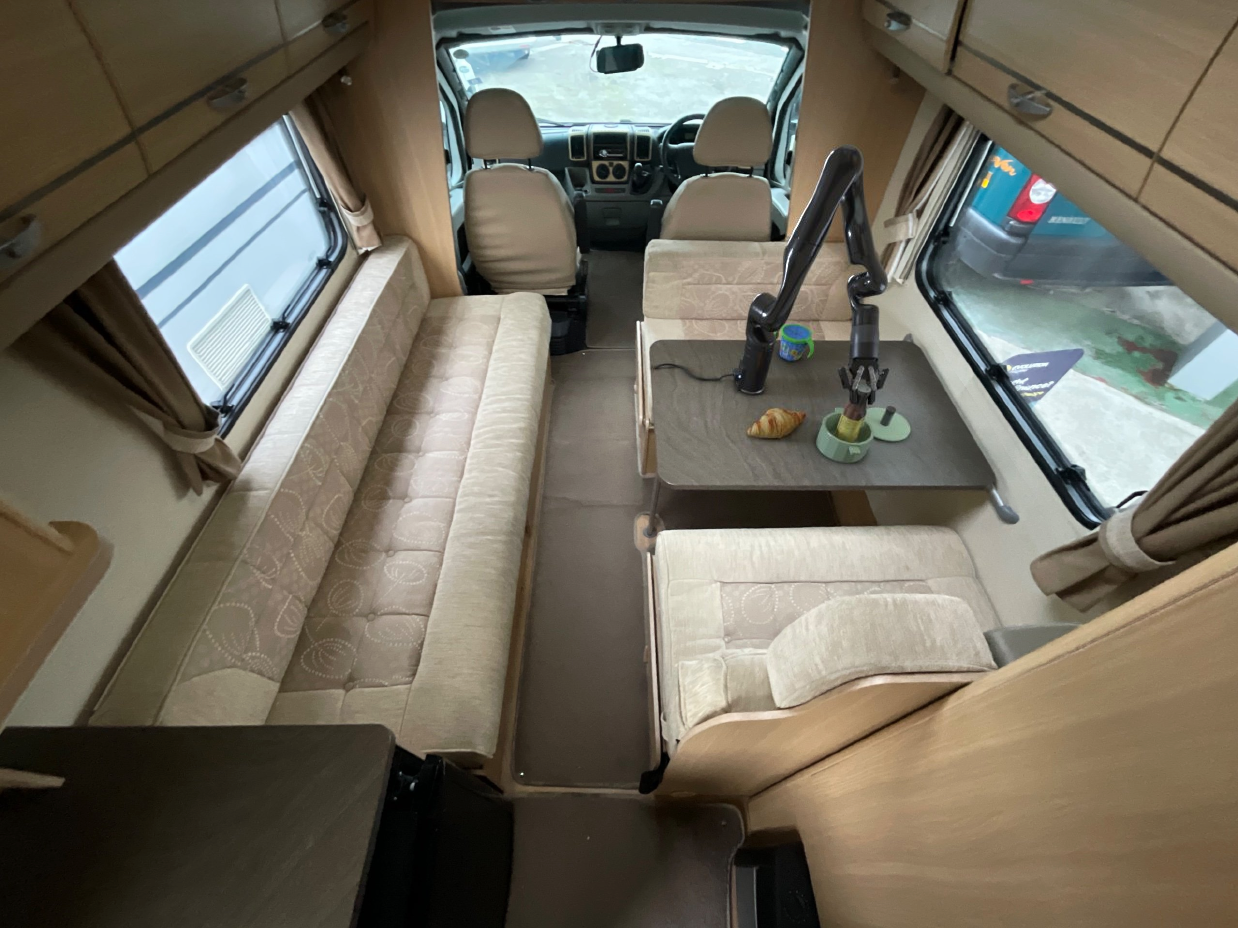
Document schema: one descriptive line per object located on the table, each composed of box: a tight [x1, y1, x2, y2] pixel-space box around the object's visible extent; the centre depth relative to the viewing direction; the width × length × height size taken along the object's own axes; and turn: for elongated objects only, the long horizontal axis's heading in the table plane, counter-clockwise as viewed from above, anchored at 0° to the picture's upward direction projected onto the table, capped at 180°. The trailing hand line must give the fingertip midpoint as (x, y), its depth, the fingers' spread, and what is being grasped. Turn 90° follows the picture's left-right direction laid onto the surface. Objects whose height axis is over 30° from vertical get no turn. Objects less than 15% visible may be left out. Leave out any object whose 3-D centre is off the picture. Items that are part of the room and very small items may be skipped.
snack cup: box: [774, 323, 815, 362], centre depth 200 cm, size 16×10×10 cm
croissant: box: [746, 407, 807, 439], centre depth 173 cm, size 21×10×8 cm
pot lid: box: [865, 405, 911, 442], centre depth 175 cm, size 16×16×7 cm
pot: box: [815, 407, 874, 464], centre depth 168 cm, size 15×20×8 cm
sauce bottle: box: [834, 383, 871, 443], centre depth 162 cm, size 6×6×20 cm
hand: (861, 404), depth 156 cm, fingers closed on sauce bottle, 4 cm apart
